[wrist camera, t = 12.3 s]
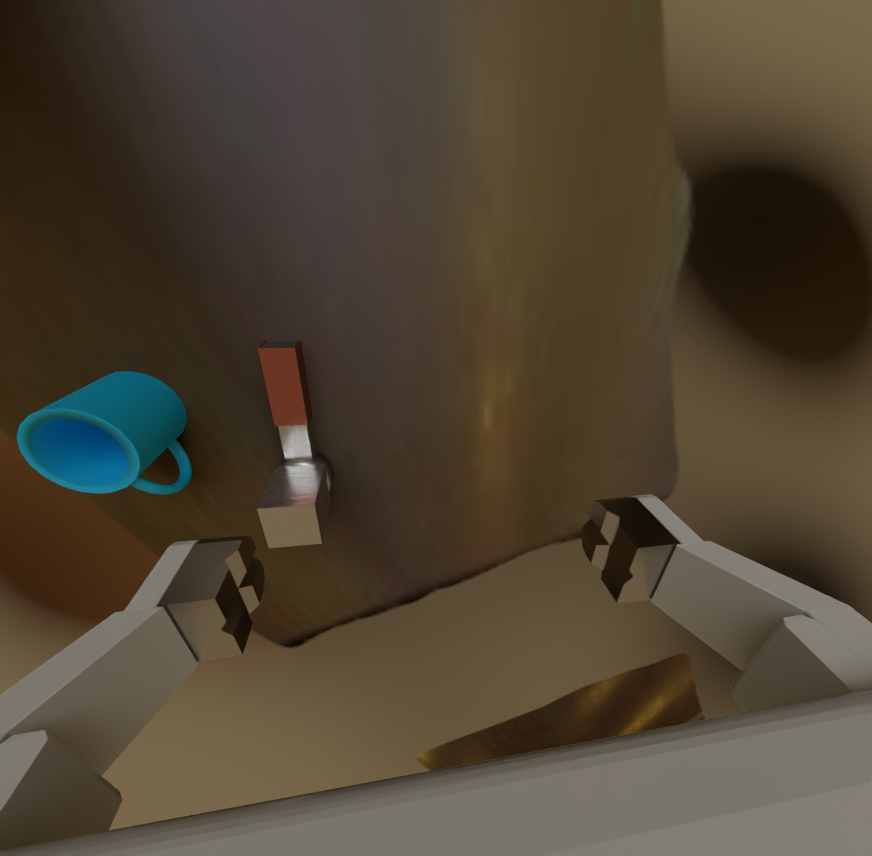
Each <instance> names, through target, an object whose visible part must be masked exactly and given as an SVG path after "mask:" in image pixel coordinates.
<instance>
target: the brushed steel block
mask: <svg viewBox="0 0 872 856" xmlns="http://www.w3.org/2000/svg"><path fill="white" fill-rule="evenodd" d="M330 501H331V499H330V493H329V487H328V481H327V475H326V469H325V464H318V465H301V466H284V467H276V468H275V470H274V473H273V475H272V477H271V479H270V481H269V484H268V486H267V488H266V490H265V492H264V494H263V497H262V499H261V501H260V503H259V505H258V508H257V511H258V514H259V517H260V521H261V524H262V527H263V531H264V534H265V537H266V541H267V544H268V547H269V548H277V547H288V546H300V545H311V544H322V541H323V536H324V531H325V526H326V521H327V516H328V511H329V506H330Z"/></svg>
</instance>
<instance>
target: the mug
mask: <svg viewBox="0 0 872 856" xmlns="http://www.w3.org/2000/svg"><path fill="white" fill-rule="evenodd" d="M186 424H187V412H186V409H185V407H184V405H183V402H182V400H181V399H180V398H179V397H178V395H177V394H176V393H175V392H174V391H173V390H172V389H171V388H170V387H168V386H167V385H166V384H164V383H163V382H162V381H160V380H158V379H156V378H153V377H151V376H149V375H147V374H142V373H137V372H132V371H125V372H115V373H112V374H110V375H107V376H105V377H103V378H101V379H99V380H97V381H95V382H93V383H91V384H89V385H87V386H85V387H83V388H81V389H79V390H77V391H75V392H73V393H72V394H70V395H68V396H66V397H64V398H62V399H60V400H58V401H56V402H54V403H52V404H50V405H48V406H46V407H44V408H42V409H40V410H38V411H36V412H35V413H33V414H31V415H29V416H28V417H27V418H26V419H25V420H24V421H23V422H22V423H21V424H20V425H19V430H18V434H17V441H18V445H19V448H20V452H21V453H22V455H23V456H24V457H25V459H26V460H27V461H28V463H29V464H30V465H31V466H32V467H33V468H34V469H36V470H37V471H38V472H39V473H40V474H42V475H43V476H44V477H46V478H48V479H49V480H52V481H53V482H55V483H57V484H59V485H61V486H64V487H67V488H70V489H73V490H76V491H79V492H88V493H96V494H99V493H110V492H115V491H118V490H120V489H123V488H126V487H127V486H129V485H131V486H133V487H134V488H137V489H140V490H142V491H145V492H148V493H152V494H162V495H167V494H172V493H177V492H179V491H181V490H182V489H183V488H185V487H186V486H187V485H188V484H189V482H190V479H191V477H192V465H191V463H190V460H189V457H188V455H187V453H186V452H185V450H184V449H183V447H182V446H181V444H180V443H179V442H178V441H177V440H176V439H177V438H178V437H179V436H180V435H181V434H182V433H183V431H184V428H185V426H186ZM167 447H168V448H169V449H170V451H171V452H172V454H173V455H174V457H175V458H176V460H177V463H178V466H179V468H180V476H179V479H178V481H177V482H175V483H174V484H169V485H164V484H157V483H154V482H152V481H149V480H147V479H144V478H143V477H141V476H139V475H140V474H141V473H142V472H143V471H144V470H145V469H146V468H147V467H148V466H149V465H150V464H151V463H152V462H153V461H154V460H155V459H156V458H157V457H158V456H159V455H160V454H161V453H162V452H163V451H164V450H165V449H166V448H167Z"/></svg>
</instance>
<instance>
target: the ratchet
mask: <svg viewBox="0 0 872 856" xmlns="http://www.w3.org/2000/svg"><path fill="white" fill-rule="evenodd" d="M258 352H259V356H260V361H261V366H262V370H263V375H264V379H265V384H266V388H267V393H268V397H269V402H270V406H271V411H272V415H273V420H274V425H275V426H278V428H279V433H280V438H281V442H282V447H283V452H284V456H285V458H284V459H283V460H282V462H281V464H280V467H284V466H301V465H318V464H325V469H326V475H327V481H328V487H329V492H330V487H331V482H332V477H333V467H332V465H331V463H330V461H329V460H328V459H327V458H326V457H325V456H323V455H322V454H320V453H318V452H316V448H315V441H314V435H313V429H312V423H311V415H312V411H311V405H310V398H309V392H308V386H307V379H306V373H305V367H304V361H303V354H302V348H301V342H300V341H265V342H264V343H263V344H262V345H260V346H259V347H258Z"/></svg>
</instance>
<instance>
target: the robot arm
mask: <svg viewBox="0 0 872 856" xmlns="http://www.w3.org/2000/svg"><path fill="white" fill-rule="evenodd" d="M587 514H588V515H589V517H590V518H591V519H590V520H589V521H588V522H587V523H586V524H585V525H584V526H583V530H582V534H581V538H582V546H583V549H584V551H585V554H586V556H587V558H588V559H589V561H590V562H591V564H593V565H595V566H596V567H598V568H599V569H601V570H602V573H601V580H602V581H603V583H604V584H605V586H606V587H607V589H608V590H609V592H610V594H611V595H612V597H613V598H614V600H615V601H616V603H624V602H633V601H642V600H651V602H652V603H653V604H655V605H656V606H657V607H659V608H660V609H661V610H663V611H664V612H665V613H666V614H668V615H669V616H671V617H672V618H673V619H674V620H676V621H677V622H678V623H680V624H681V625H682V626H684V627H685V628H686V629H688V630H689V631H690V632H692V633H693V634H694V635H696V636H697V637H698V638H700V639H701V640H702V641H704V642H705V643H706V644H708V645H709V646H710V647H711V648H713V649H714V650H715V651H717V652H718V653H720V654H721V655H722V656H723V657H725V658H726V659H728V660H729V661H730V662H731V663H733V664H734V665H735V666H737V667H738V668H739V669H741V670H742V672H741V673H740V674H739V675H738V677H737V678H736V679H735V681H734V682H733V683H732V685H731V693H732V694H733V696H734V697H735V698H736V699H737V701H738V702H739V704H740V705H741V706H742V707H743V709H744V710H745V712H746V713H741V714H735V715H730V716H724V717H720V718H714V719H709V720H703V721H697V722H692V723H687V724H681V725H676V726H670V727H665V728H660V729H654V730H649V731H643V732H638V733H632V734H627V735H622V736H616V737H611V738H605V739H600V740H595V741H589V742H584V743H578V744H573V745H568V746H562V747H557V748H551V749H546V750H541V751H535V752H530V753H524V754H519V755H514V756H508V757H503V758H497V759H492V760H486V761H481V762H476V763H470V764H465V765H459V766H454V767H449V768H443V769H438V770H432V771H427V772H422V773H417V774H411V775H405V776H400V777H395V778H390V779H384V780H378V781H373V782H368V783H362V784H357V785H351V786H346V787H341V788H335V789H330V790H325V791H319V792H314V793H308V794H303V795H298V796H292V797H287V798H281V799H276V800H271V801H265V802H260V803H254V804H249V805H243V806H238V807H233V808H227V809H222V810H217V811H211V812H206V813H201V814H195V815H189V816H184V817H179V818H173V819H168V820H163V821H157V822H152V823H146V824H141V825H135V826H130V827H125V828H119V829H114V830H109V829H110V826H111V824H112V822H113V820H114V818H115V815H116V813H117V811H118V809H119V806H120V804H121V802H122V797H121V794H120V791H119V790H118V789H116V788H115V787H114V786H113V785H111V784H110V783H109V782H108V781H107V780H105V779H104V778H103V777H102V775H103V774H104V772H105V771H106V770H107V769H108V768H109V767H110V766H111V764H112V763H113V762H114V761H115V760H116V759H117V758H118V757H119V755H120V754H121V753H122V752H123V751H124V750H125V748H126V747H127V746H128V745H129V744H130V743H131V742H132V741H133V739H134V738H135V737H136V736H137V735H138V734H139V733H140V731H141V730H142V729H143V728H144V727H145V726H146V724H147V723H148V722H149V721H150V720H151V719H152V717H153V716H154V715H155V714H156V713H157V712H158V711H159V710H160V708H161V707H162V706H163V705H164V704H165V703H166V701H167V700H168V699H169V698H170V697H171V696H172V695H173V694H174V692H175V691H176V690H177V689H178V688H179V687H180V685H181V684H182V683H183V682H184V681H185V680H186V679H187V678H188V676H189V675H190V674H191V673H192V672H193V671H194V670H195V668H196V667H197V666H198V662H203V661H208V660H214V659H221V658H227V657H233V656H239V655H243V652H244V649H245V646H246V643H247V640H248V637H249V634H250V631H251V628H252V625H253V622H252V620H251V617H250V615H249V614H250V613H251V612H252V611H253V610H254V609H255V608H256V607H257V606H258V605H259V604H260V601H261V598H262V595H263V590H264V581H265V576H264V568H263V566H262V563H261V561H260V560H258V559H257V558H255V557H254V556H253V554H254V551H255V549H256V546H255V544H254V541H253V539H252V537H249V536H238V537H225V538H212V539H200V540H193V541H179V542H175V543H173V544H172V545H170V546H169V547H168V548H167V550H166V551H165V553H164V554H163V555H162V557H161V558H160V560H159V561H158V563H157V564H156V566H155V567H154V569H153V570H152V571H151V573H150V574H149V576H148V577H147V579H146V580H145V582H144V583H143V584H142V586H141V587H140V589H139V590H138V592H137V593H136V595H135V596H134V597H133V599H132V600H131V602H130V603H129V605H128V606H127V607H126V609H125V610H124V611H122V612H116V613H114V614H112V615H111V616H110V617H108V618H107V619H105V620H104V621H103V622H101V623H100V624H98V625H97V626H96V627H94V628H93V629H92V630H90V631H89V632H87V633H86V634H84V635H83V636H82V637H80V638H79V639H78V640H76V641H75V642H73V643H72V644H71V645H69V646H68V647H66V648H65V649H64V650H62V651H61V652H59V653H58V654H57V655H56V656H54V657H52V658H51V659H50V660H48V661H47V662H46V663H44V664H43V665H41V666H40V667H38V668H37V669H36V670H34V671H33V672H32V673H30V674H29V675H27V676H26V677H25V678H23V679H22V680H20V681H19V682H18V683H16V684H15V685H13V686H12V687H11V688H9V689H8V690H6V691H5V692H4V693H3V694H1V695H0V856H872V624H871V623H870V622H869V621H868V620H866V619H865V618H864V617H863V616H861V615H860V614H859V613H858V612H856V611H855V610H854V609H853V608H851V607H850V606H848V605H846V604H844V603H842V602H839V601H838V600H835V599H833V598H831V597H829V596H827V595H824V594H823V593H820V592H818V591H816V590H814V589H812V588H809V587H808V586H805V585H803V584H801V583H799V582H797V581H795V580H792V579H790V578H788V577H786V576H784V575H782V574H779V573H777V572H775V571H773V570H771V569H769V568H767V567H765V566H762V565H760V564H758V563H756V562H754V561H752V560H750V559H747V558H745V557H743V556H741V555H739V554H737V553H734V552H732V551H730V550H728V549H726V548H724V547H722V546H719V545H717V544H715V543H713V542H711V541H705V542H704V541H703V540H701V539H700V538H699V537H698V536H697V535H696V534H695V533H694V532H693V531H692V530H691V529H690V528H689V527H688V526H687V525H686V524H684V522H683V521H681V520H680V519H679V518H678V517H677V516H676V515H675V514H674V513H673V512H672V511H671V510H670V509H669V508H668V507H667V506H665V504H663V503H662V502H661V501H660V500H659V499H658V498H657V497H655V496H653V495H651V494H647V495H638V496H631V497H621V498H612V499H603V500H594V501H592V502H591V503H590V505H589V507H588V511H587Z"/></svg>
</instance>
